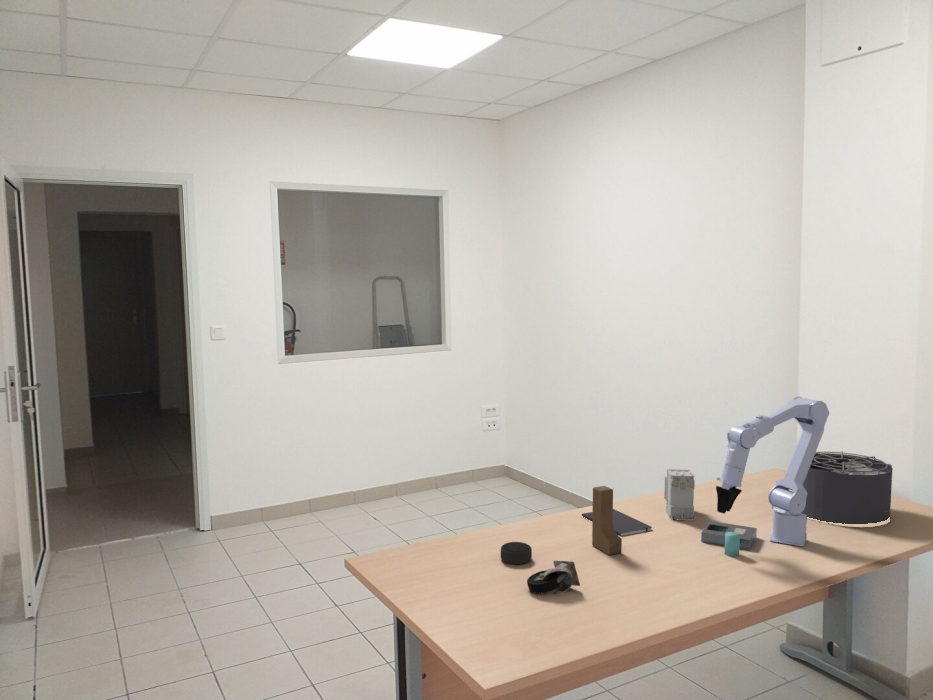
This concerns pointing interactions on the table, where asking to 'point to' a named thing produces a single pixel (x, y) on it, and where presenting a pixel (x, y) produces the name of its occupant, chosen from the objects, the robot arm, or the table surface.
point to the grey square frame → (717, 531)
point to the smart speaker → (516, 553)
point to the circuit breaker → (679, 494)
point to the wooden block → (604, 522)
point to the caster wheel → (554, 579)
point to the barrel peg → (732, 544)
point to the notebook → (623, 523)
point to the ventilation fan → (848, 489)
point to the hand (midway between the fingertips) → (723, 511)
